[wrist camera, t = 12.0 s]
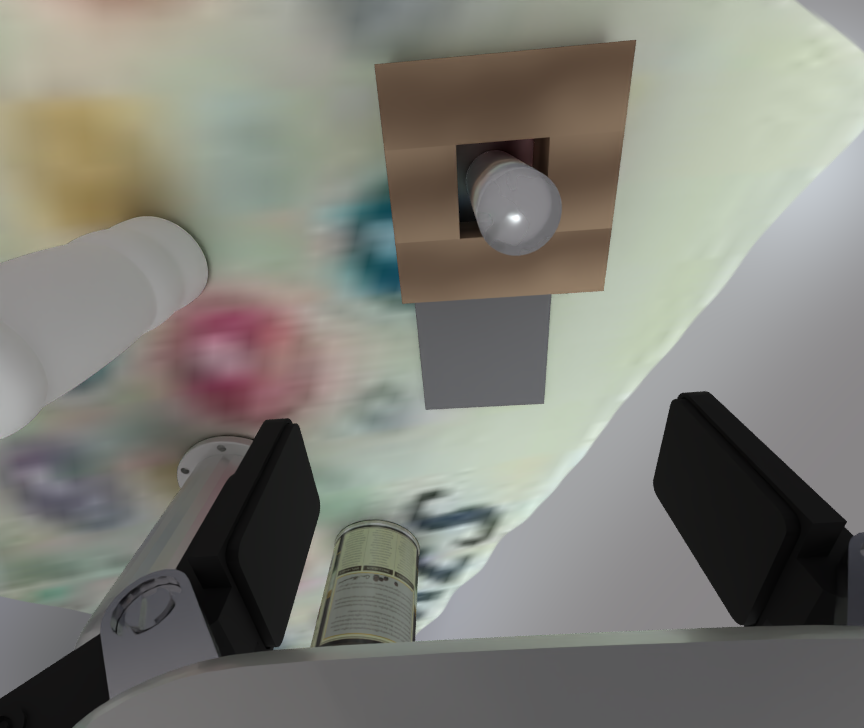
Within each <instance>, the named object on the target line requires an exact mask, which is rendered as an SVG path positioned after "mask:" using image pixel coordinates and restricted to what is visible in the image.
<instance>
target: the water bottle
mask: <svg viewBox="0 0 864 728" xmlns="http://www.w3.org/2000/svg"><path fill="white" fill-rule="evenodd" d="M207 279H208V266H207V262H206V259H205V256H204V254H203V252H202V250H201V248H200V246H199V245H198V243H197V242H196V241H195V240H194V238H193V237H192V236H191V235H190V234H189V233H188V232H186V231H185V230H184V229H183V228H181V227H180V226H178V225H177V224H175V223H173V222H171V221H168V220H166V219H163V218H159V217H153V216H141V217H136V218H132V219H129V220H126V221H123V222H121V223H119V224H116V225H114V226H112V227H110V228H109V229H105V230H99V231H95V232H92V233H88V234H86V235H83V236H81V237H78V238H76V239H74V240H72V241H71V242H69V243H68V244H66V245H61V246H57V247H52V248H48V249H44V250H41V251H37V252H34V253H30V254H27V255H24V256H20V257H17V258H14V259H11V260H8V261H5V262H2V263H0V439H3V438H5V437H7V436H9V435H12V434H13V433H15V432H17V431H19V430H20V429H22V428H23V427H24V426H26V425H27V424H28V423H29V422H31V421H32V420H33V419H34V418H35V417H36V415H37V414H38V413H39V412H40V410H41V409H42V407H44V406H46V405H48V404H49V403H51V402H53V401H54V400H56V399H58V398H59V397H61V396H63V395H64V394H66V393H67V392H69V391H70V390H72V389H73V388H75V387H76V386H78V385H79V384H81V383H82V382H84V381H85V380H86V379H88V378H89V377H91V376H92V375H93V374H95V373H96V372H97V371H99V370H100V369H102V368H103V367H104V366H106V365H107V364H108V363H110V362H111V361H112V360H113V359H115V358H116V357H117V356H119V355H120V354H121V353H122V352H124V351H125V350H126V349H127V348H128V347H130V346H131V345H132V344H133V343H134V342H135V341H136V340H137V339H139V338H140V337H141V336H142V335H143V334H144V333H146V332H148V331H150V330H152V329H154V328H156V327H157V326H159V325H160V324H162V323H163V322H165V321H166V320H167V319H168V318H169V317H170V316H171V315H172V314H173V313H174V312H175V311H177V310H179V309H181V308H183V307H185V306H186V305H188V304H189V303H191V302H192V301H193V300H195V299H196V298H197V297H198V296H199V295H200V294H201V293H202V291H203V290H204V288H205V286H206V283H207Z"/></svg>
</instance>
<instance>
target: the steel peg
mask: <svg viewBox="0 0 864 728" xmlns="http://www.w3.org/2000/svg"><path fill="white" fill-rule="evenodd" d="M466 189H467V193H468V196H469V199H470V202H471V205H472V208H473V211H474V214H475V217H476V220H477V223H478V226H479V229H480V232H481V234H482V236H483V238H484V239H485V241H486V242H487V243H488V244H489V245H490V246H491V247H492V248H493V249H495V250H496V251H498V252H500V253H503V254H506V255H512V256H519V255H525V254H529V253H532V252H534V251H536V250H538V249H539V248H541V247H542V246H544V245H545V244H546V243H547V242H548V241H549V240H550V239H551V238H552V236H553V235H554V233H555V231H556V230H557V228H558V225H559V223H560V219H561V213H562V203H561V197H560V194H559V191H558V189H557V187H556V186H555V184H554V183H553V182H552V181H551V180H550V179H549V178H548V177H547V176H546V175H544V174H543V173H541V172H539V171H537V170H536V169H534V168H532V167H531V166H529V165H527V164H525V163H524V162H522V161H520V160H518V159H517V158H515V157H513V156H512V155H510V154H508V153H506V152H504V151H499V150H492V151H487V152H485V153H483V154H481V155H479V156H478V157H477V158H476V159H475V160H474V161H473V162H472V164H471V165H470V167H469V169H468V172H467V175H466Z"/></svg>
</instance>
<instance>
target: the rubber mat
mask: <svg viewBox="0 0 864 728" xmlns="http://www.w3.org/2000/svg"><path fill="white" fill-rule="evenodd" d="M550 305H551V294H546V295H531V296H515V297H499V298H484V299H468V300H452V301H437V302H421V303H415V308H416V318H417V328H418V338H419V348H420V357H421V367H422V377H423V387H424V397H425V407H426V410H429V409H449V408H468V407H488V406H508V405H528V404H544V395H545V380H546V365H547V350H548V335H549V320H550Z"/></svg>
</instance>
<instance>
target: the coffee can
mask: <svg viewBox="0 0 864 728" xmlns="http://www.w3.org/2000/svg"><path fill="white" fill-rule="evenodd" d="M419 553H420V549H419V544H418V542H417V540H416V538H415V537H414V536H413V535H412V534H411V533H410V532H409V531H408V530H406V529H405V528H403V527H401V526H399V525H397V524H394V523H390V522H387V521H380V520H369V521H361V522H358V523H355V524H352V525H350V526H348V527H346V528H345V529H343V530H342V531H341V532H340V533H339V535H338V536H337V538H336V541H335V548H334V552H333V556H332V560H331V564H330V568H329V572H328V577H327V581H326V585H325V589H324V593H323V598H322V602H321V606H320V609H319V614H318V618H317V621H316V626H315V630H314V635H313V639H312V643H311V647H310V648H312V647H326V646H340V645H358V644H377V643H396V642H415V629H416V605H417V584H418V562H419Z"/></svg>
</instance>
